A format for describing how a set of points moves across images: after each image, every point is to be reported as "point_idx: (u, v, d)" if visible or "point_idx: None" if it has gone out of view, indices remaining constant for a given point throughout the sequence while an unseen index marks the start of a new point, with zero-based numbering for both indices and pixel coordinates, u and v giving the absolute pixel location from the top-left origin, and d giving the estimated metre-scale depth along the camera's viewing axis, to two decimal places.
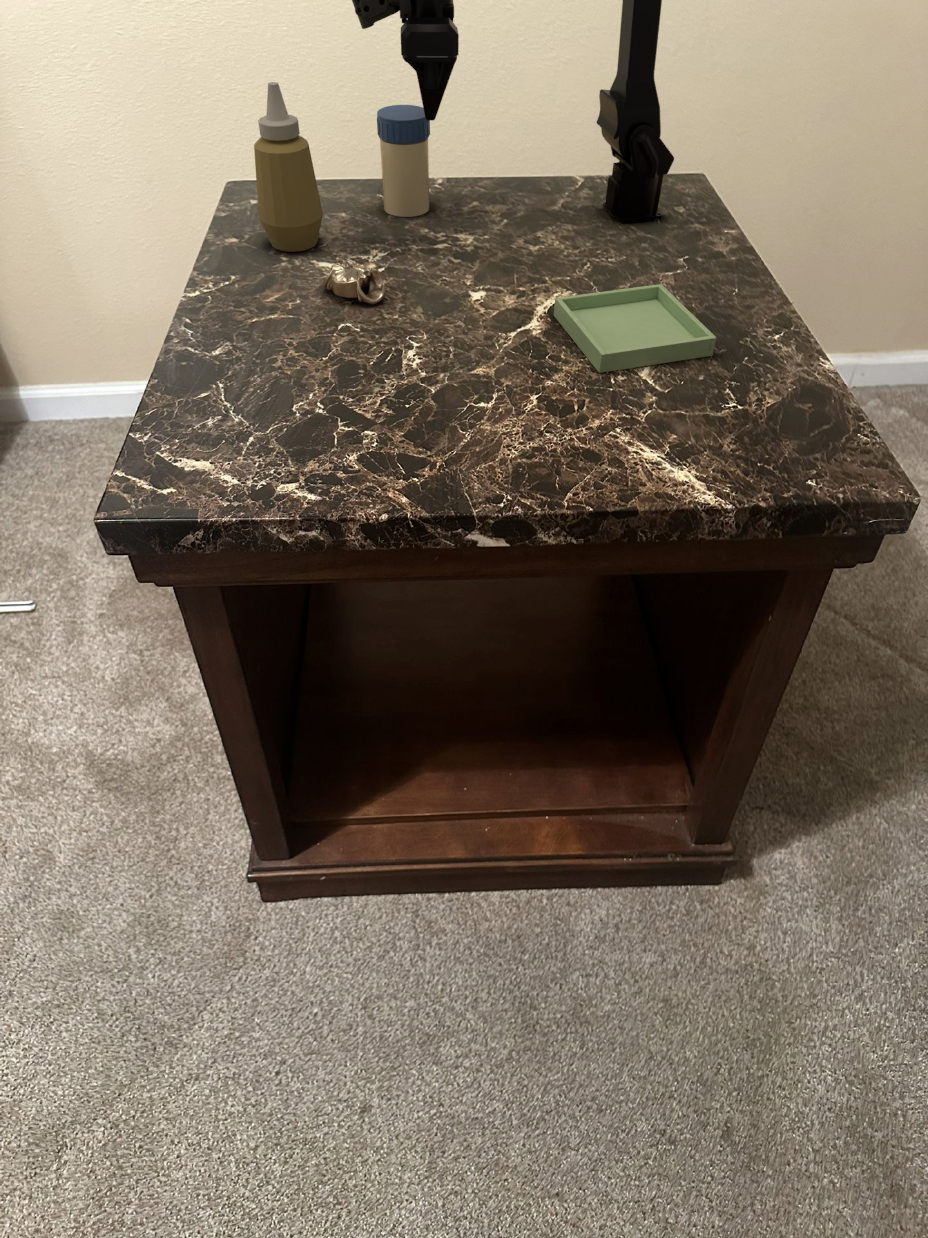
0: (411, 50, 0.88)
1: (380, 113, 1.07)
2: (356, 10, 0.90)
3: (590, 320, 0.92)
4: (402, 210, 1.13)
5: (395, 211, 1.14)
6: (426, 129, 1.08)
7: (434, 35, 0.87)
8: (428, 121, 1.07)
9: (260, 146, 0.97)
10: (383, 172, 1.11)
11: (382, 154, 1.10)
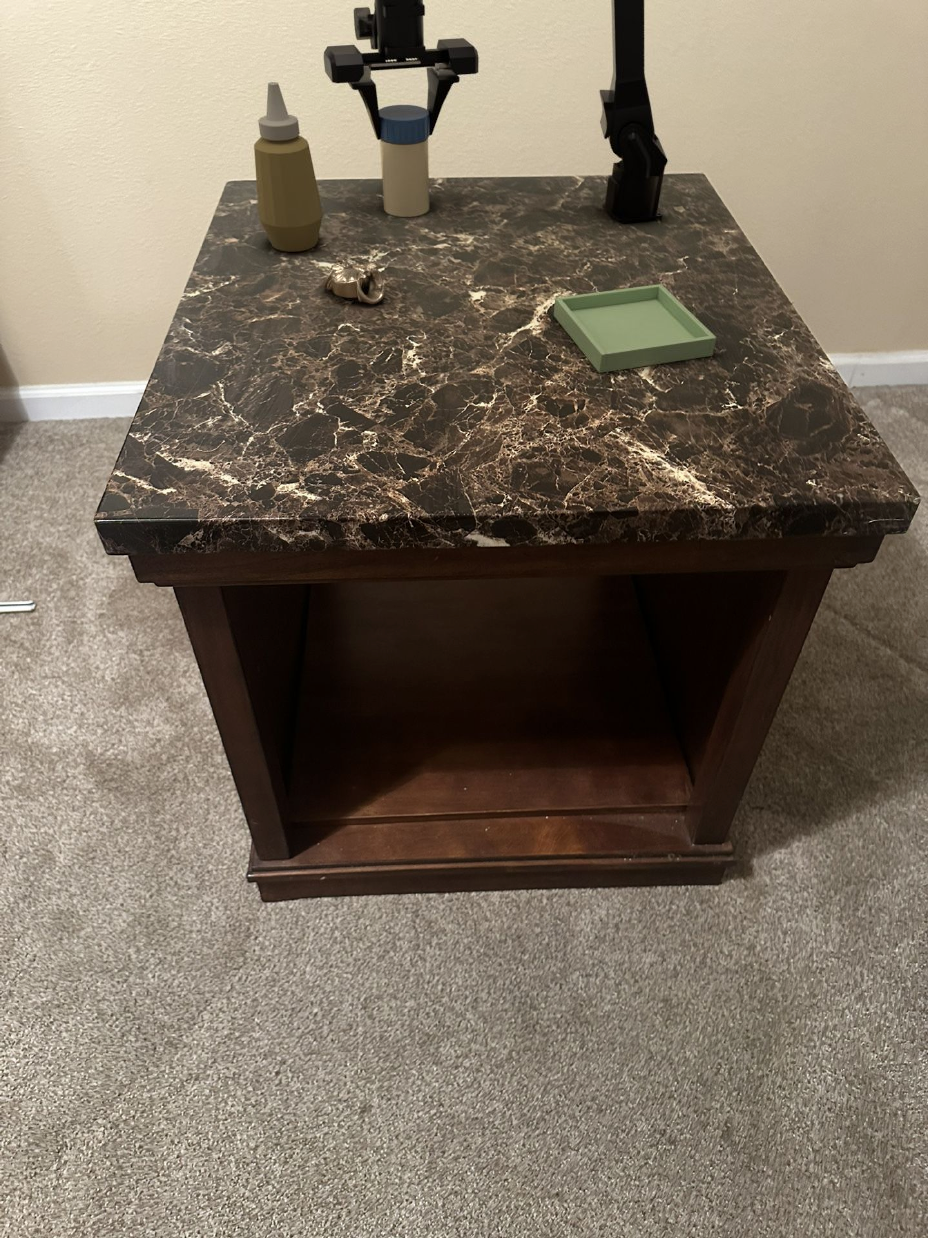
0: (325, 67, 1.03)
1: (380, 113, 1.07)
2: None
3: (590, 320, 0.92)
4: (402, 210, 1.13)
5: (395, 211, 1.14)
6: (426, 129, 1.08)
7: (327, 60, 1.00)
8: (428, 121, 1.07)
9: (260, 146, 0.97)
10: (383, 172, 1.11)
11: (382, 154, 1.10)
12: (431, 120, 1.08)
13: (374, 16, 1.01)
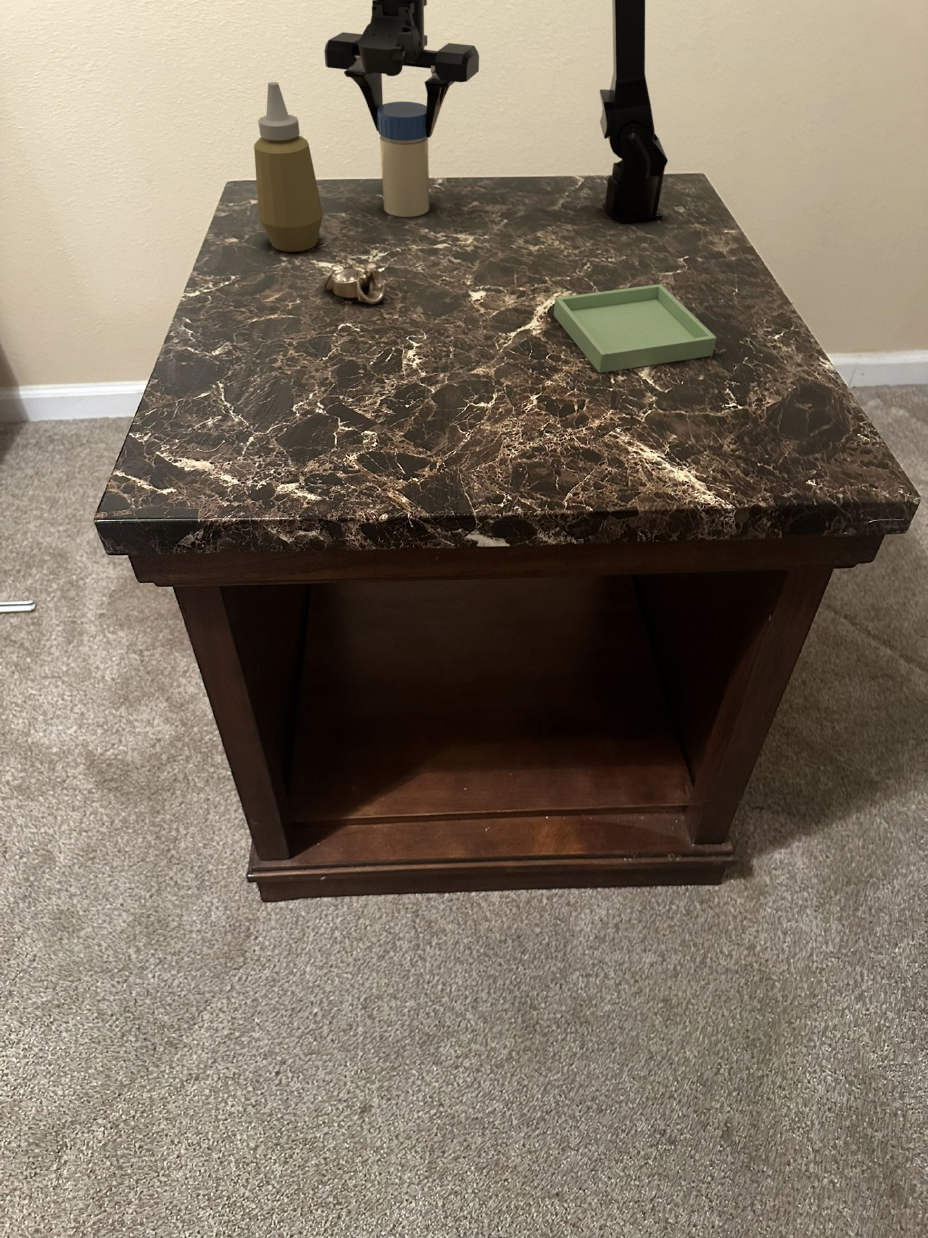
0: (468, 75, 1.00)
1: (424, 112, 1.06)
2: (404, 58, 0.96)
3: (590, 320, 0.92)
4: (402, 210, 1.13)
5: (395, 211, 1.14)
6: None
7: (474, 57, 1.01)
8: None
9: (260, 146, 0.97)
10: (383, 172, 1.11)
11: (382, 154, 1.10)
12: None
13: (413, 22, 0.98)
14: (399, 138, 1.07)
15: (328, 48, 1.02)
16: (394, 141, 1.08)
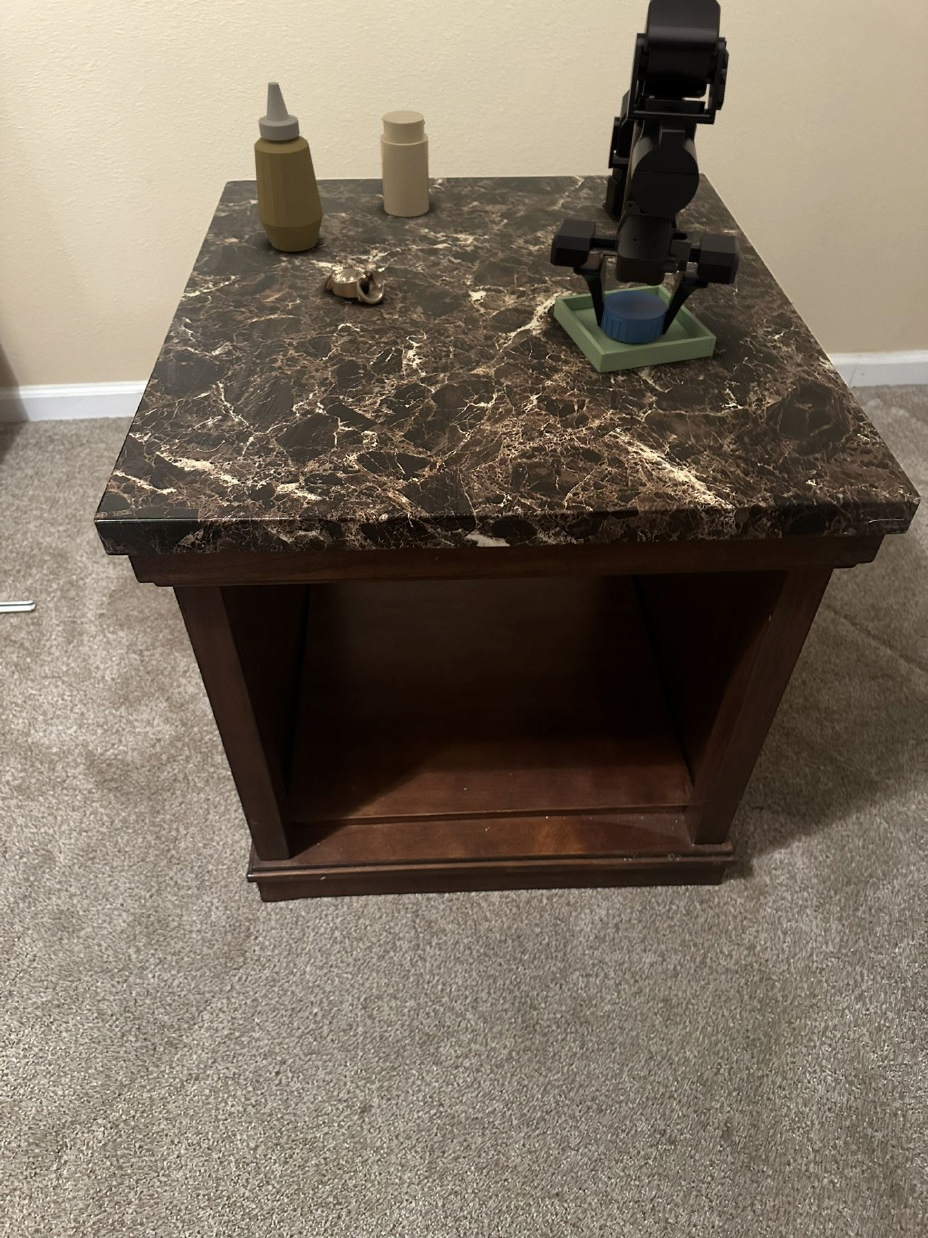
0: (735, 275, 0.83)
1: (663, 308, 0.88)
2: (677, 269, 0.78)
3: (590, 320, 0.92)
4: (402, 210, 1.13)
5: (395, 211, 1.14)
6: None
7: None
8: None
9: (260, 146, 0.97)
10: (383, 172, 1.11)
11: (382, 154, 1.10)
12: None
13: (676, 220, 0.80)
14: (635, 341, 0.88)
15: (558, 245, 0.84)
16: (394, 141, 1.08)
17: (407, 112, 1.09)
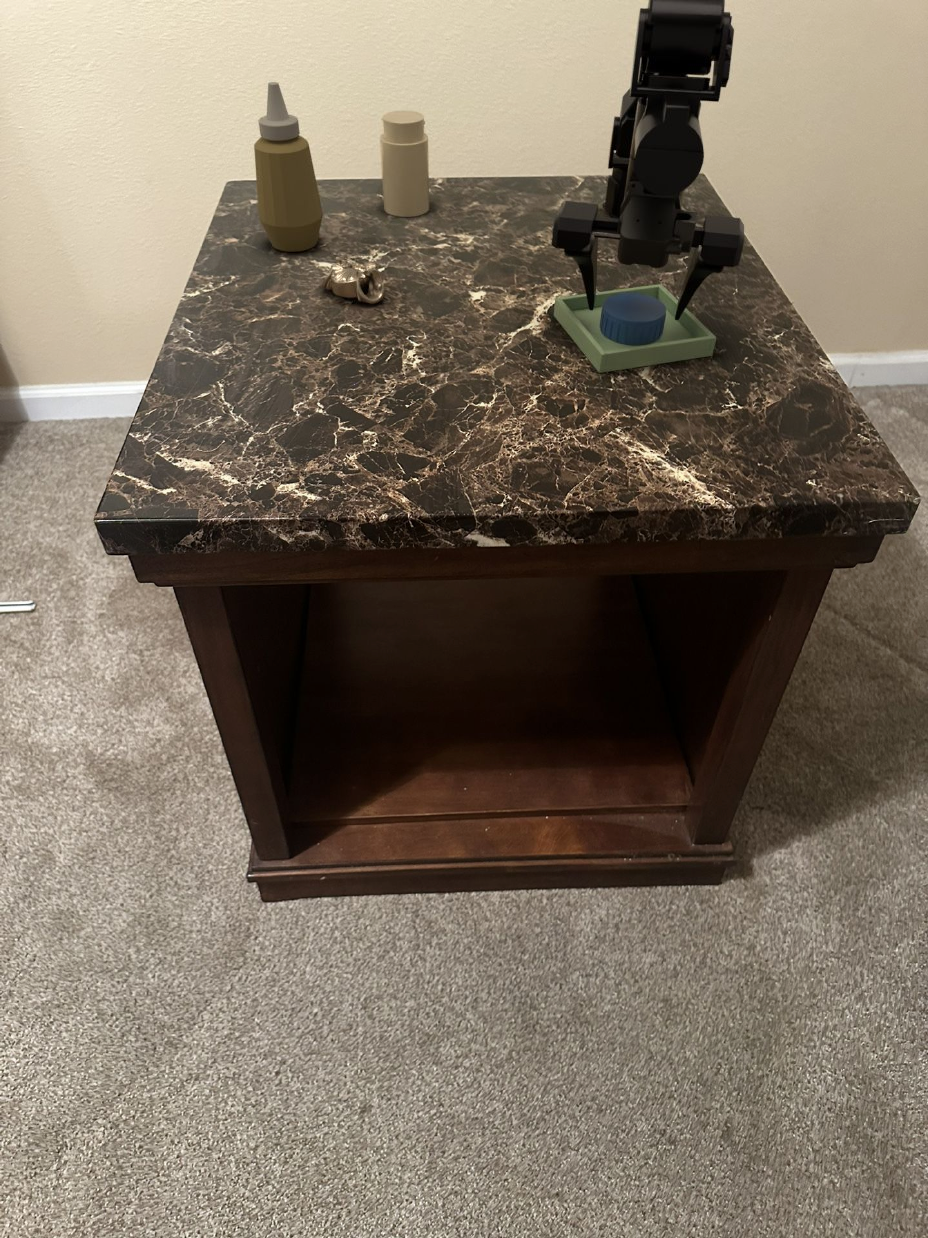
0: None
1: (662, 311, 0.89)
2: (681, 251, 0.77)
3: (590, 320, 0.92)
4: (402, 210, 1.13)
5: (395, 211, 1.14)
6: None
7: None
8: None
9: (260, 146, 0.97)
10: (383, 172, 1.11)
11: (382, 154, 1.10)
12: (595, 286, 0.90)
13: (680, 201, 0.78)
14: (634, 343, 0.89)
15: (560, 227, 0.82)
16: (394, 141, 1.08)
17: (407, 112, 1.09)
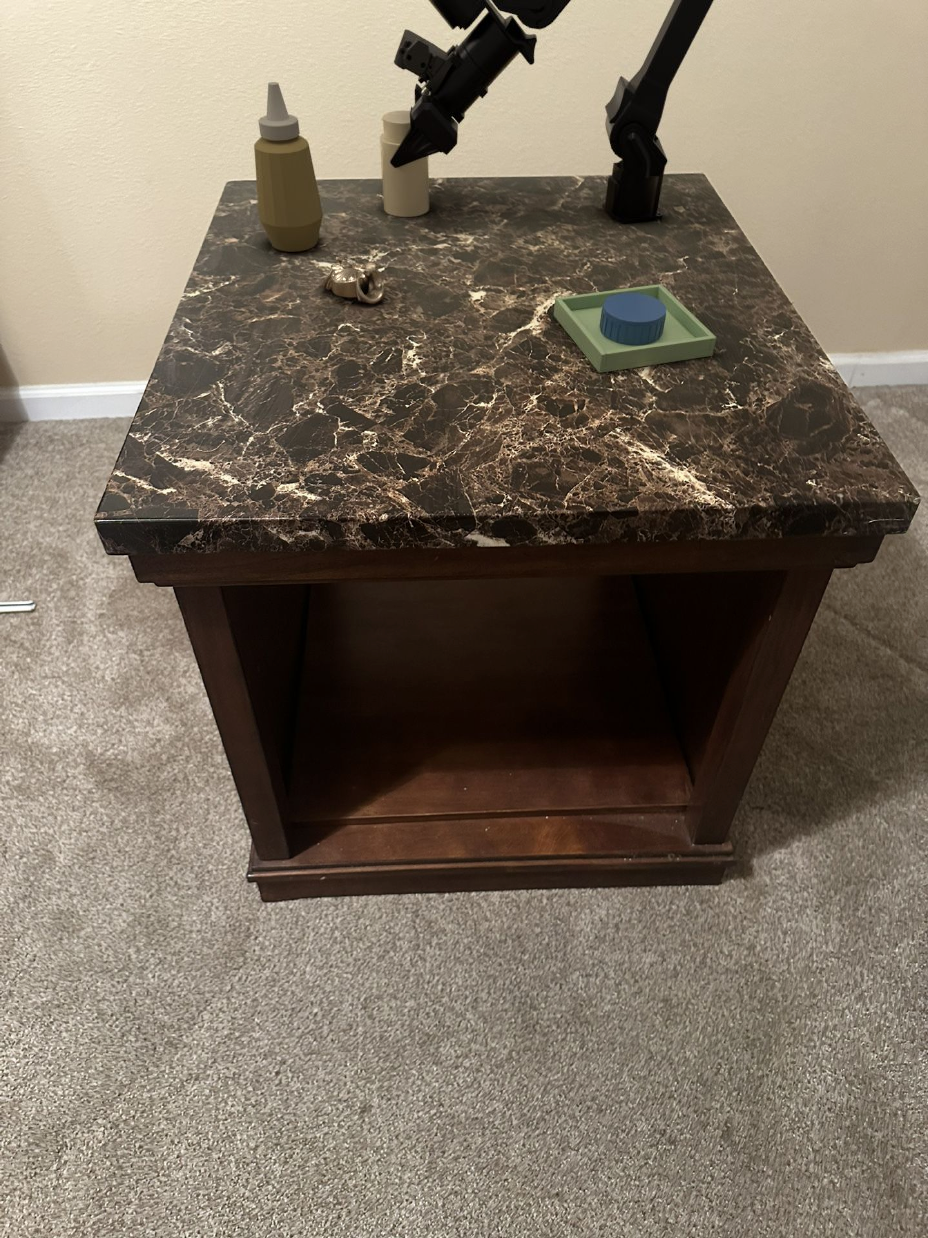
0: (420, 120, 1.00)
1: (662, 311, 0.89)
2: (401, 49, 1.00)
3: (590, 320, 0.92)
4: (402, 210, 1.13)
5: (395, 211, 1.14)
6: None
7: (442, 128, 1.00)
8: None
9: (260, 146, 0.97)
10: (383, 172, 1.11)
11: (382, 154, 1.10)
12: None
13: (446, 68, 1.02)
14: (634, 343, 0.89)
15: None
16: (394, 141, 1.08)
17: (407, 112, 1.09)
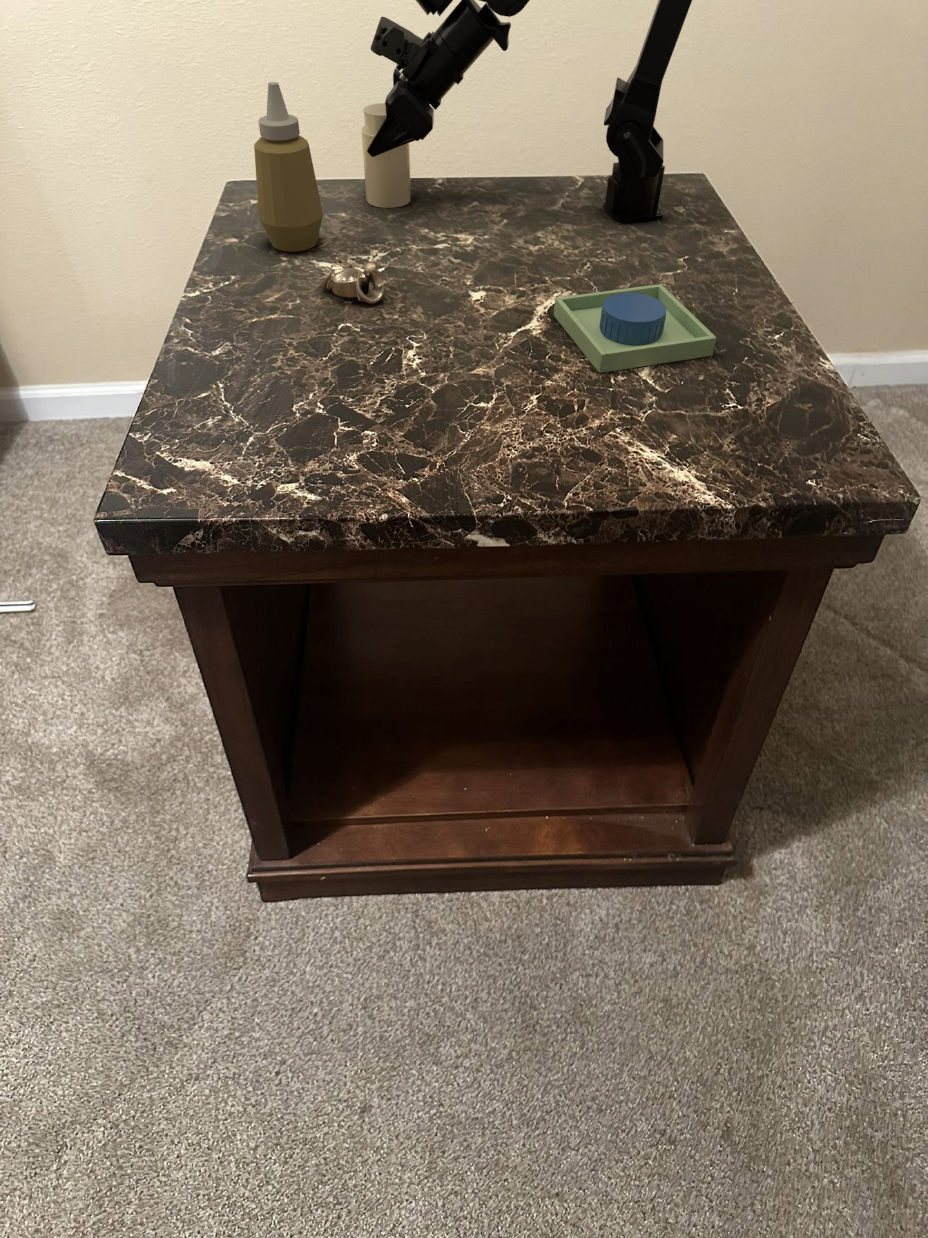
0: (395, 105, 1.01)
1: (662, 311, 0.89)
2: (376, 36, 1.01)
3: (590, 320, 0.92)
4: (384, 201, 1.15)
5: (377, 202, 1.16)
6: None
7: (417, 113, 1.02)
8: None
9: (260, 146, 0.97)
10: (365, 164, 1.14)
11: (363, 146, 1.12)
12: None
13: (422, 54, 1.03)
14: (634, 343, 0.89)
15: None
16: (375, 133, 1.10)
17: None
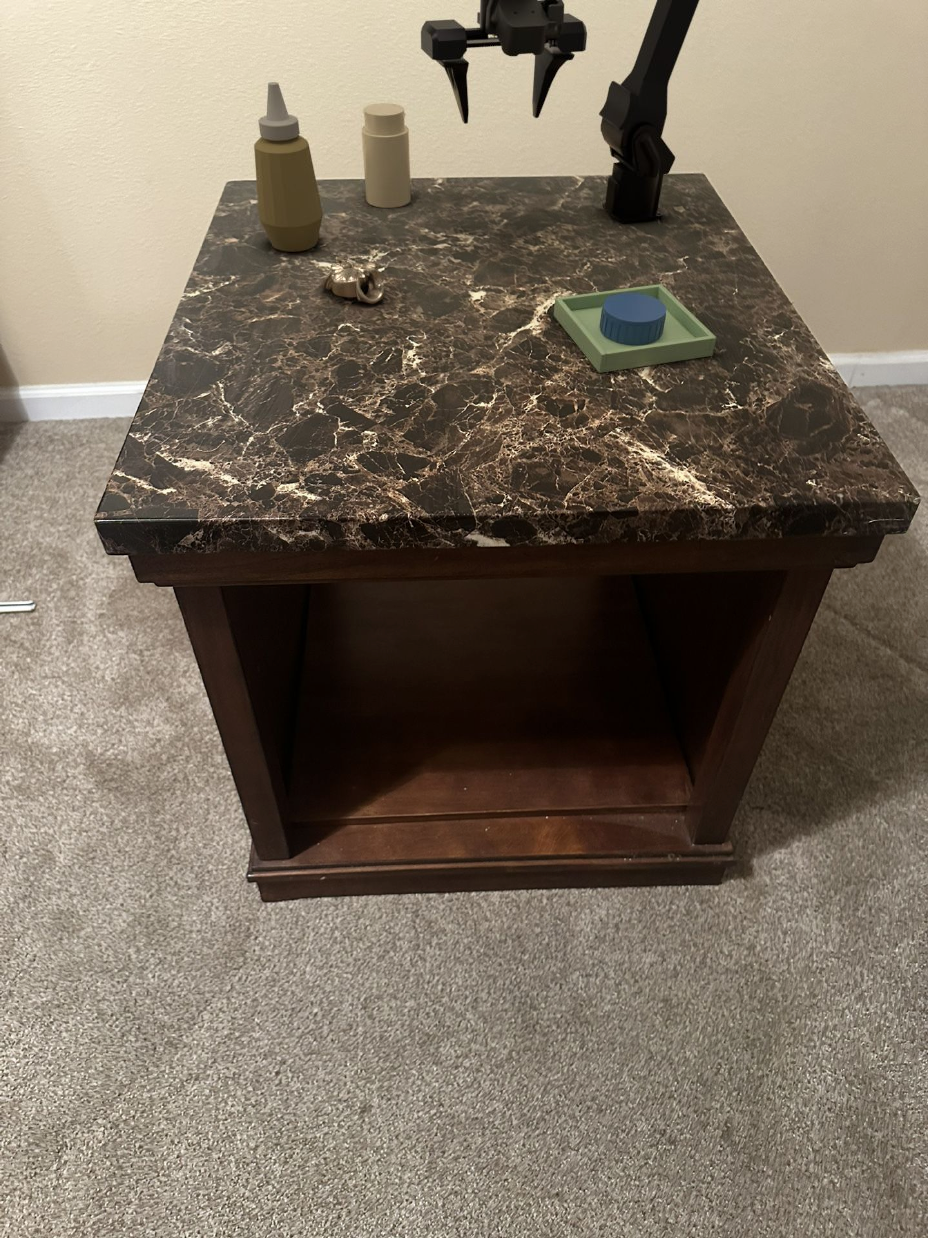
0: None
1: (662, 311, 0.89)
2: (557, 33, 0.90)
3: (590, 320, 0.92)
4: (384, 201, 1.15)
5: (377, 202, 1.16)
6: None
7: None
8: None
9: (260, 146, 0.97)
10: (365, 164, 1.14)
11: (363, 146, 1.12)
12: None
13: None
14: (634, 343, 0.89)
15: (439, 38, 0.92)
16: (375, 133, 1.10)
17: (388, 105, 1.11)
